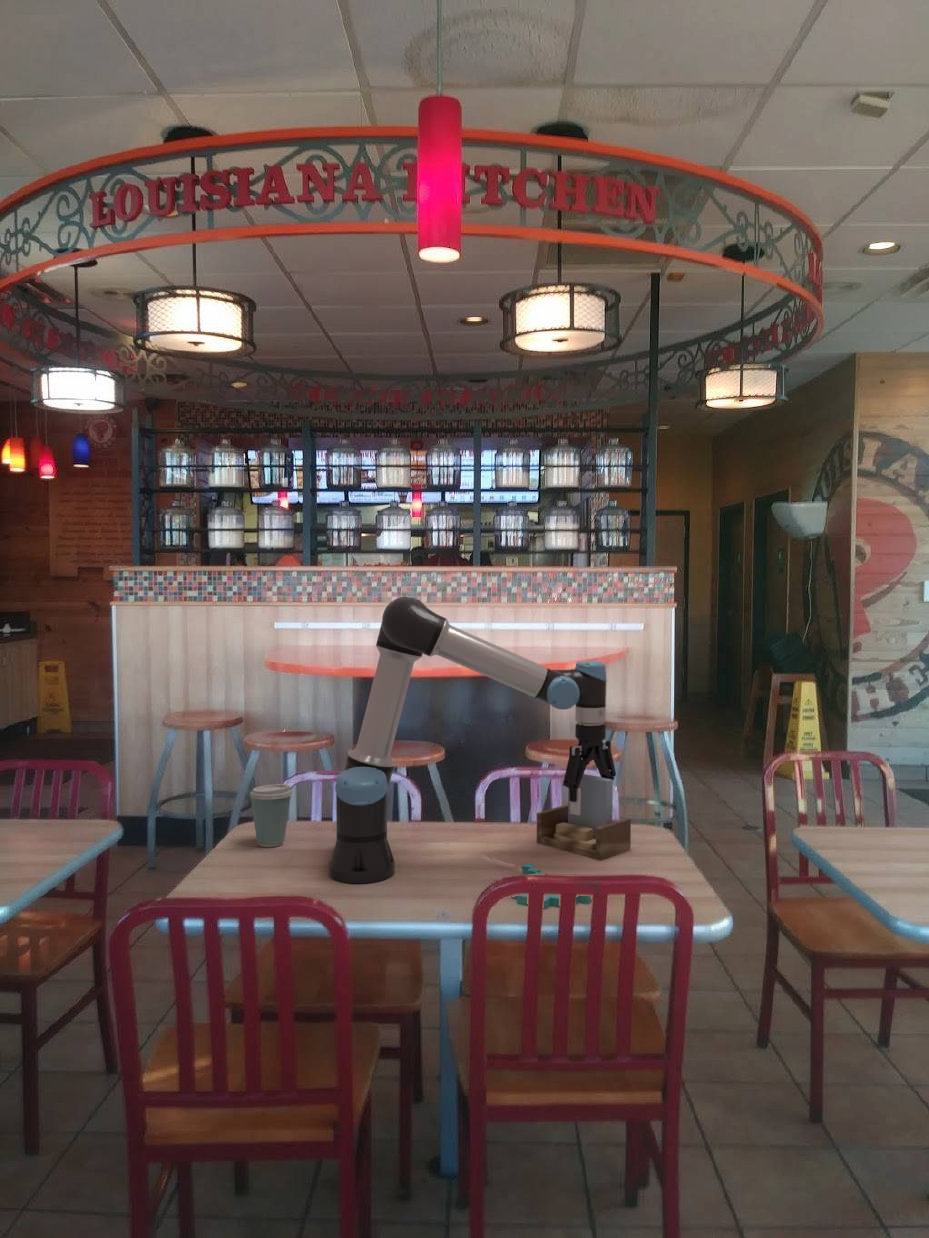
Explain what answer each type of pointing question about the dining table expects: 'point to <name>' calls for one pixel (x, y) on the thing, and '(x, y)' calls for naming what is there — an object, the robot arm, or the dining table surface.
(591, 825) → the grey rectangular panel
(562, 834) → the offcut
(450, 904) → the dining table surface
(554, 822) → the rack
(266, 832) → the disposable coffee cup
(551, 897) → the alien figure
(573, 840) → the offcut
